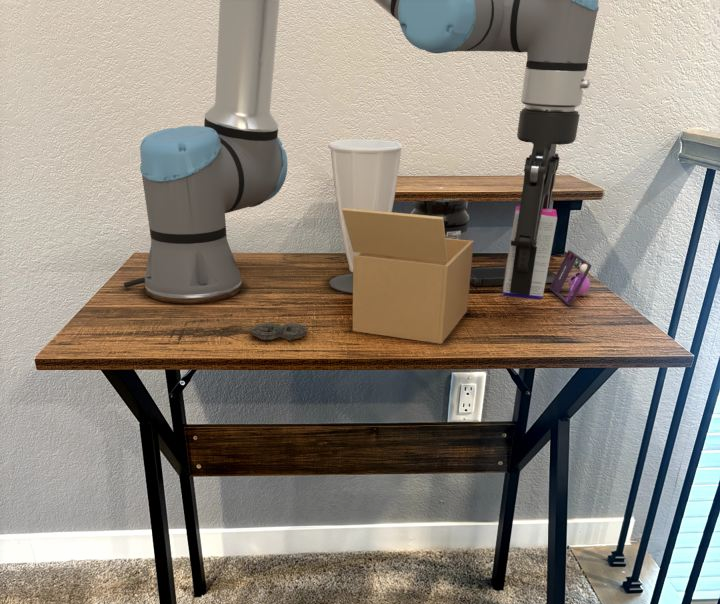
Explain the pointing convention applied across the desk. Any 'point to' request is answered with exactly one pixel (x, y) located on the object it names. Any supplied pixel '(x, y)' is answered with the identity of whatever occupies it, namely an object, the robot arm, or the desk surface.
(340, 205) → the cup
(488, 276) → the phone
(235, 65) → the robot arm
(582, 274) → the purple monster toy box
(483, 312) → the desk surface
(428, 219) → the flap
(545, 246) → the supplement box
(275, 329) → the corroded twin loop
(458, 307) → the carton
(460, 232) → the supplement container
